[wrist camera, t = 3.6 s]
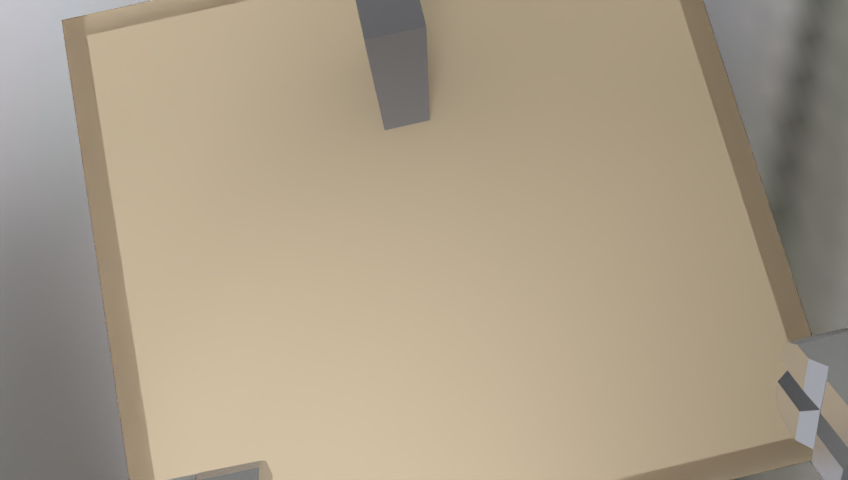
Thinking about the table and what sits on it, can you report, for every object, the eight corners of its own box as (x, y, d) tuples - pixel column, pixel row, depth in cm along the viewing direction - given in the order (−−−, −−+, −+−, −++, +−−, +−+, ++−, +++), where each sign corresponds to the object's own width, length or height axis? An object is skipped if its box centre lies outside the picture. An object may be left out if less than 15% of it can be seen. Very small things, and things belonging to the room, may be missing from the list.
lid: (813, 445, 26) (1013, 476, 17) (176, 597, 26) (29, 712, 17) (648, -74, 30) (740, -276, 21) (91, 49, 30) (-65, -103, 21)
